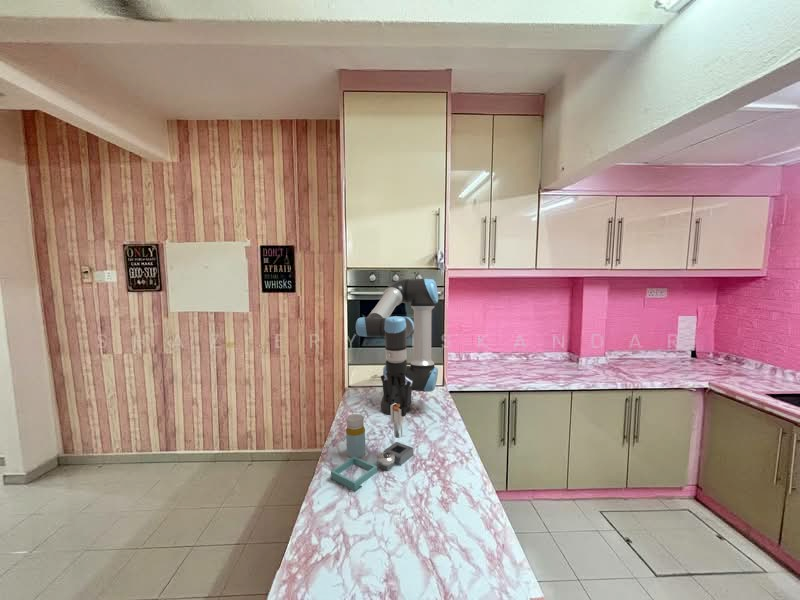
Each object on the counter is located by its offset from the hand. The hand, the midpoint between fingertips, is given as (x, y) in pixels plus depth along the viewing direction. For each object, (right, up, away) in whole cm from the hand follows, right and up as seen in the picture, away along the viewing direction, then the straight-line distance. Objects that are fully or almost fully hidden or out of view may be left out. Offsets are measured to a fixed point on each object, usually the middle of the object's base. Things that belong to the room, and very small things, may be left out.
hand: (397, 422), depth 125 cm
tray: (-15, -15, -9) cm, 23 cm away
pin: (0, -5, +1) cm, 5 cm away
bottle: (-16, -14, +4) cm, 22 cm away
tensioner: (-2, -14, -1) cm, 14 cm away
